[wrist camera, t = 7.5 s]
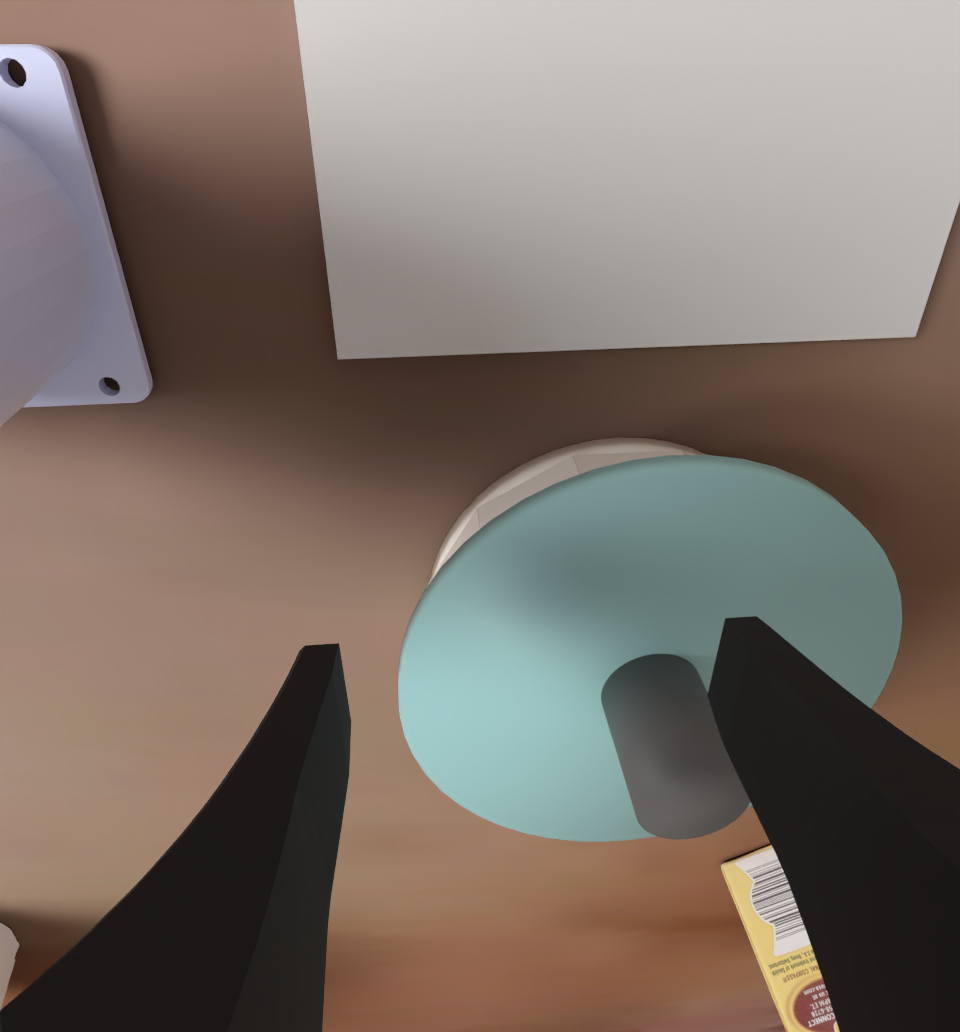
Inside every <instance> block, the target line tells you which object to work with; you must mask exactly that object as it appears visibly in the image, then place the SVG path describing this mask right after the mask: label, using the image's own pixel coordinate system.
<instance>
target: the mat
mask: <svg viewBox="0 0 960 1032" xmlns="http://www.w3.org/2000/svg"><path fill="white" fill-rule="evenodd" d="M294 4H295V12H296V20H297V28H298V37H299V45H300V53H301V61H302V69H303V78H304V86H305V94H306V102H307V111H308V119H309V127H310V135H311V144H312V152H313V160H314V168H315V176H316V185H317V193H318V201H319V209H320V218H321V226H322V234H323V242H324V250H325V259H326V267H327V275H328V283H329V292H330V300H331V308H332V316H333V325H334V333H335V341H336V349H337V357H338V359H362V358H387V357H413V356H439V355H465V354H490V353H516V352H542V351H568V350H593V349H619V348H645V347H670V346H696V345H722V344H748V343H773V342H799V341H825V340H851V339H876V338H902V337H915V336H916V333H917V330H918V327H919V324H920V321H921V318H922V315H923V312H924V309H925V306H926V303H927V300H928V297H929V294H930V291H931V287H932V284H933V281H934V278H935V275H936V272H937V269H938V266H939V263H940V260H941V257H942V254H943V251H944V248H945V245H946V242H947V239H948V236H949V233H950V229H951V226H952V223H953V220H954V217H955V214H956V211H957V208H958V205H959V202H960V0H294Z"/></svg>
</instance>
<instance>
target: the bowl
mask: <svg viewBox="0 0 960 1032" xmlns="http://www.w3.org/2000/svg"><path fill="white" fill-rule="evenodd" d="M667 455H707V454H705V453H702V452H700V451H698V450H695V449H693V448H691V447H687V446H684V445H680V444H676V443H673V442H669V441H663V440H656V439H649V438H620V437H618V438H609V439H600V440H592V441H587V442H583V443H578V444H574V445H569V446H566V447H563V448H560V449H557V450H554V451H551V452H549V453H546V454H543V455H541V456H539V457H537V458H535V459H532V460H530V461H528V462H526V463H524V464H522V465H520V466H518V467H517V468H515V469H514V470H512V471H510V472H509V473H507V474H506V475H504V476H502V477H501V478H499V479H498V480H497V481H495V482H494V483H493V484H492V485H490V486H489V487H488V488H487V489H486V490H484V491H483V492H482V493H481V494H479V495H478V496H477V497H476V498H475V500H474V501H473V502H472V503H471V504H470V505H469V506H468V507H467V508H466V509H465V510H464V511H463V512H462V514H461V515H460V516H459V518H458V519H457V520H456V522H455V523H454V525H453V526H452V527H451V529H450V530H449V532H448V534H447V536H446V538H445V539H444V541H443V543H442V545H441V547H440V549H439V552H438V555H437V557H436V560H435V563H434V566H433V570H432V575H431V580H432V579H433V578H434V576H435V575H436V573H437V572H438V571H439V569H440V568H441V566H442V565H443V564H444V563H445V562H446V561H447V560H448V559H449V558H450V557H451V556H452V555H453V554H454V553H455V551H456V550H457V549H458V548H459V547H460V546H461V545H462V544H463V543H464V542H465V541H466V540H468V539H469V538H470V537H471V536H472V535H474V534H475V533H476V532H477V531H478V530H480V529H481V528H482V527H483V526H484V525H486V524H487V523H488V522H489V521H490V520H492V519H493V518H495V517H496V516H498V515H500V514H501V513H503V512H504V511H506V510H507V509H509V508H510V507H512V506H513V505H515V504H517V503H518V502H520V501H521V500H523V499H525V498H527V497H529V496H531V495H533V494H535V493H537V492H539V491H541V490H543V489H545V488H547V487H549V486H551V485H553V484H555V483H557V482H560V481H563V480H566V479H568V478H571V477H574V476H576V475H579V474H582V473H585V472H587V471H590V470H593V469H597V468H601V467H605V466H609V465H613V464H617V463H621V462H626V461H630V460H636V459H644V458H651V457H659V456H667ZM431 580H430V582H431ZM430 582H429V583H430ZM429 583H428V585H429ZM428 585H427V586H428Z"/></svg>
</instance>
